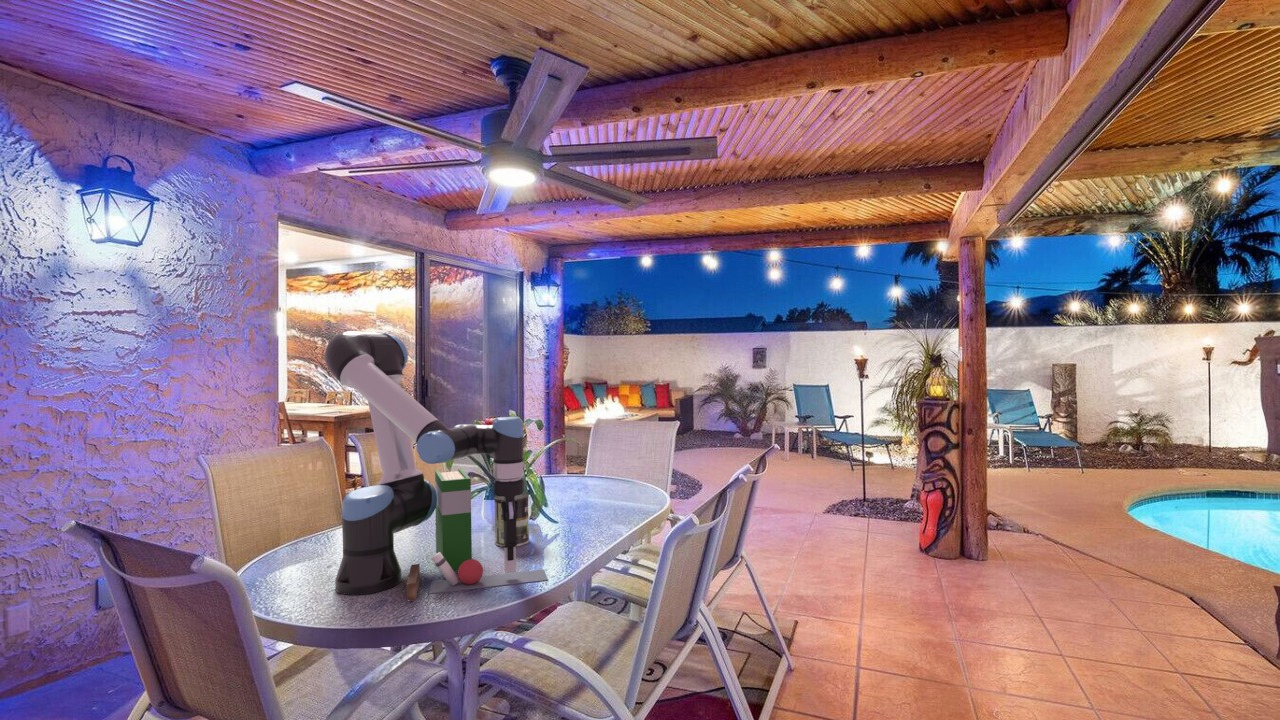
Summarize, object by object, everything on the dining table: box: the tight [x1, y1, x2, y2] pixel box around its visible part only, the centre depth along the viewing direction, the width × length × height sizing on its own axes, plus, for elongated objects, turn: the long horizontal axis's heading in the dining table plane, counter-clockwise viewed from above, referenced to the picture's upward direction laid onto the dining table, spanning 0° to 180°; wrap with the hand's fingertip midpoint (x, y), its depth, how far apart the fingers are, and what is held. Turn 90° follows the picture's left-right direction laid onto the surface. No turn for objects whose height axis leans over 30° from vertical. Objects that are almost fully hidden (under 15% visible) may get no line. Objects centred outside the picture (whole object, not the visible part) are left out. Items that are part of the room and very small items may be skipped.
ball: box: [457, 558, 484, 585], centre depth 151 cm, size 6×6×6 cm
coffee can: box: [493, 492, 530, 548], centre depth 186 cm, size 10×10×14 cm
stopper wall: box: [406, 563, 421, 602], centre depth 148 cm, size 2×14×4 cm, turn 16°
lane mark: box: [430, 569, 549, 595], centre depth 153 cm, size 28×8×1 cm, turn 106°
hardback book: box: [434, 468, 473, 572], centre depth 170 cm, size 18×7×24 cm, turn 24°
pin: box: [431, 552, 460, 586], centre depth 150 cm, size 2×2×8 cm
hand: (510, 571), depth 154 cm, fingers closed
